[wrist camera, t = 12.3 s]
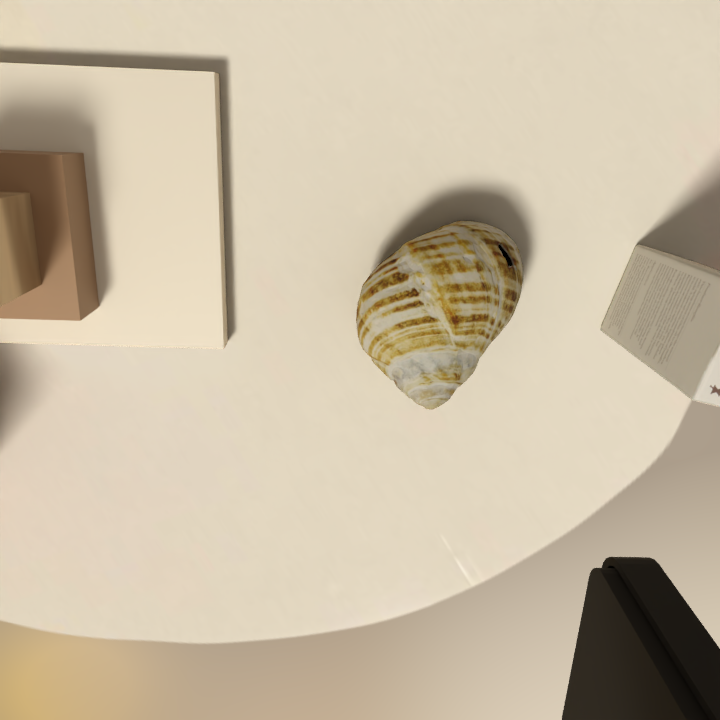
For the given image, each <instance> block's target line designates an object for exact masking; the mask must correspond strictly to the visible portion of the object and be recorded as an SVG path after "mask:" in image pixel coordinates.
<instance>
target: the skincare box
mask: <svg viewBox="0 0 720 720" xmlns="http://www.w3.org/2000/svg"><path fill="white" fill-rule="evenodd" d="M600 330H601V331H602V332H603V333H605V334H606V335H607V336H609V337H610V338H611V339H613V340H614V341H615V342H617V343H618V344H619V345H621V346H622V347H623V348H625V349H626V350H627V351H628V352H630V353H631V354H632V355H634V356H635V357H636V358H638V359H639V360H640V361H642V362H643V363H644V364H646V365H647V366H648V367H650V368H651V369H652V370H654V371H655V372H656V373H657V374H659V375H660V376H661V377H663V378H664V379H665V380H667V381H668V382H670V383H671V384H672V385H674V386H675V387H676V388H678V389H679V390H680V391H681V392H683V393H684V394H685V395H686V396H688V397H689V398H690V399H691V400H693V401H697V402H701V403H705V404H709V405H713V406H717V407H720V271H719V270H716V269H713V268H710V267H708V266H705V265H702V264H700V263H697V262H694V261H691V260H688V259H685V258H682V257H678V256H675V255H672V254H669V253H666V252H662V251H659V250H656V249H653V248H650V247H646V246H643V245H636V246H635V249H634V251H633V254H632V256H631V258H630V261H629V263H628V265H627V268H626V270H625V273H624V275H623V277H622V280H621V282H620V284H619V287H618V289H617V291H616V294H615V296H614V298H613V301H612V303H611V305H610V308H609V310H608V312H607V315H606V317H605V319H604V321H603V324H602V326H601V329H600Z"/></svg>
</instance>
